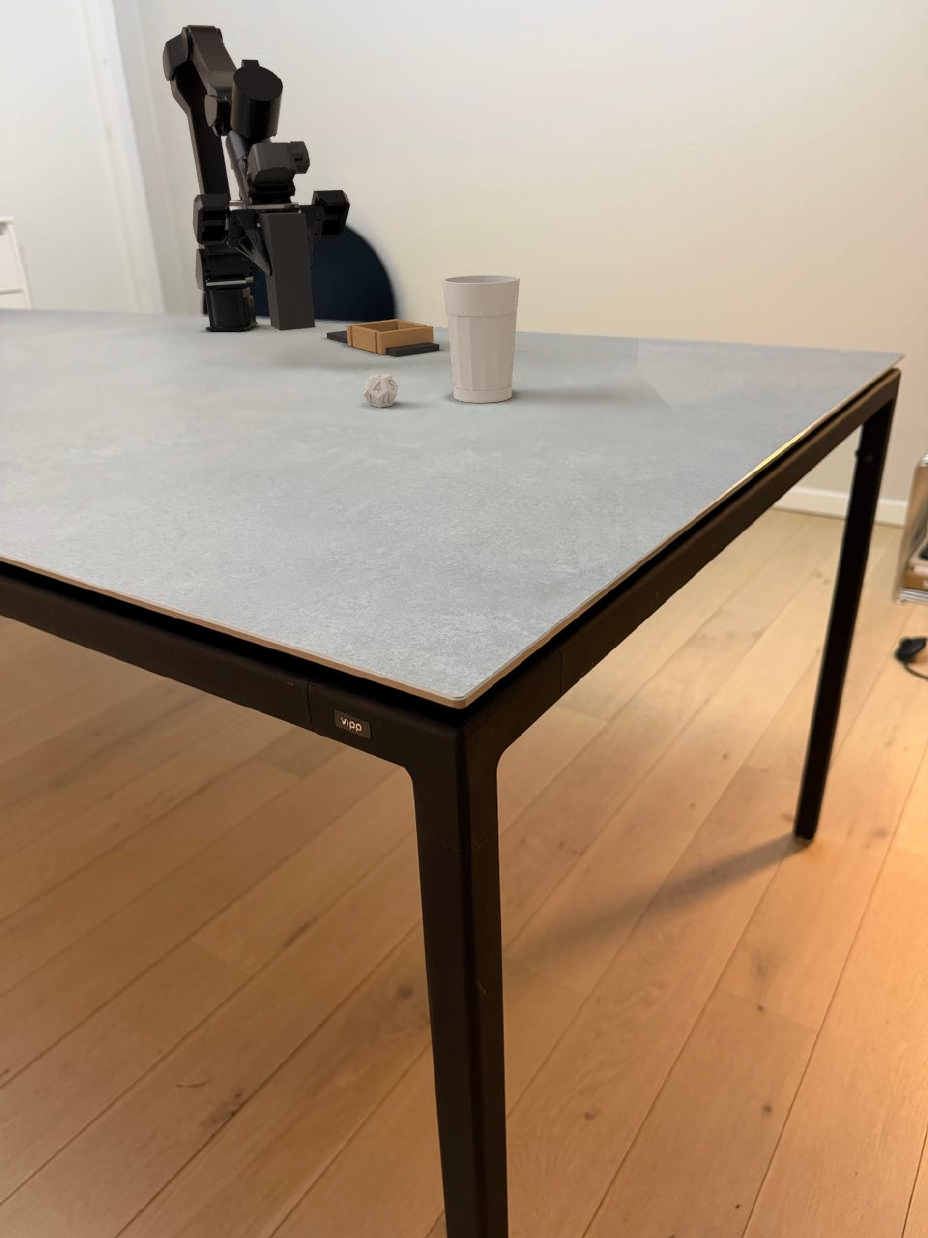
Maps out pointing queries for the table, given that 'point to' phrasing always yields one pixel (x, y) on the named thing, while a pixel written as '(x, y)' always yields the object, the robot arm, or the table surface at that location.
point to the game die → (381, 390)
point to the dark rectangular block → (288, 270)
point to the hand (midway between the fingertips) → (290, 271)
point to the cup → (482, 335)
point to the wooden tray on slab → (388, 337)
